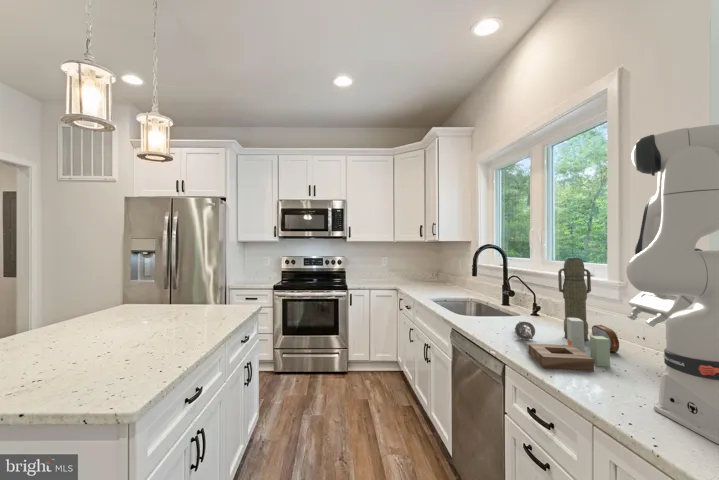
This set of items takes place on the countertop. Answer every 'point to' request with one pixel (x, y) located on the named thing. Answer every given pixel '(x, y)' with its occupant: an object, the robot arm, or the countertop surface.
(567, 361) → the walnut holder
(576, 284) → the thermos
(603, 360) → the green block
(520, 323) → the spaceship
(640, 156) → the robot arm
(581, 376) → the countertop surface
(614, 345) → the tin
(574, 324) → the skincare box
